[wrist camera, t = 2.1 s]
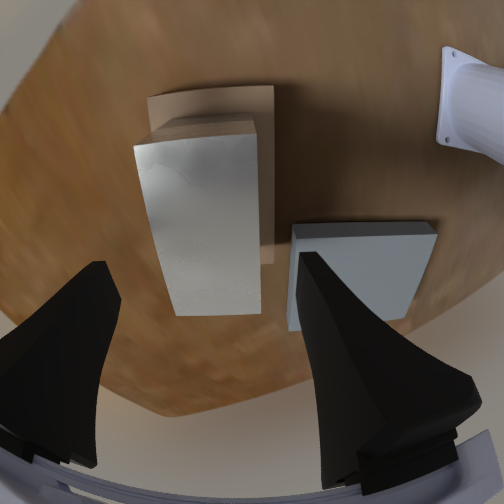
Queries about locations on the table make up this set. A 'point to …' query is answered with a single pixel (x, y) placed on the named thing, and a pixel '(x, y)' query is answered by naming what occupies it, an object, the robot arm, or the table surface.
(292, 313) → the stand
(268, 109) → the stand
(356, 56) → the table surface
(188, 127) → the block
